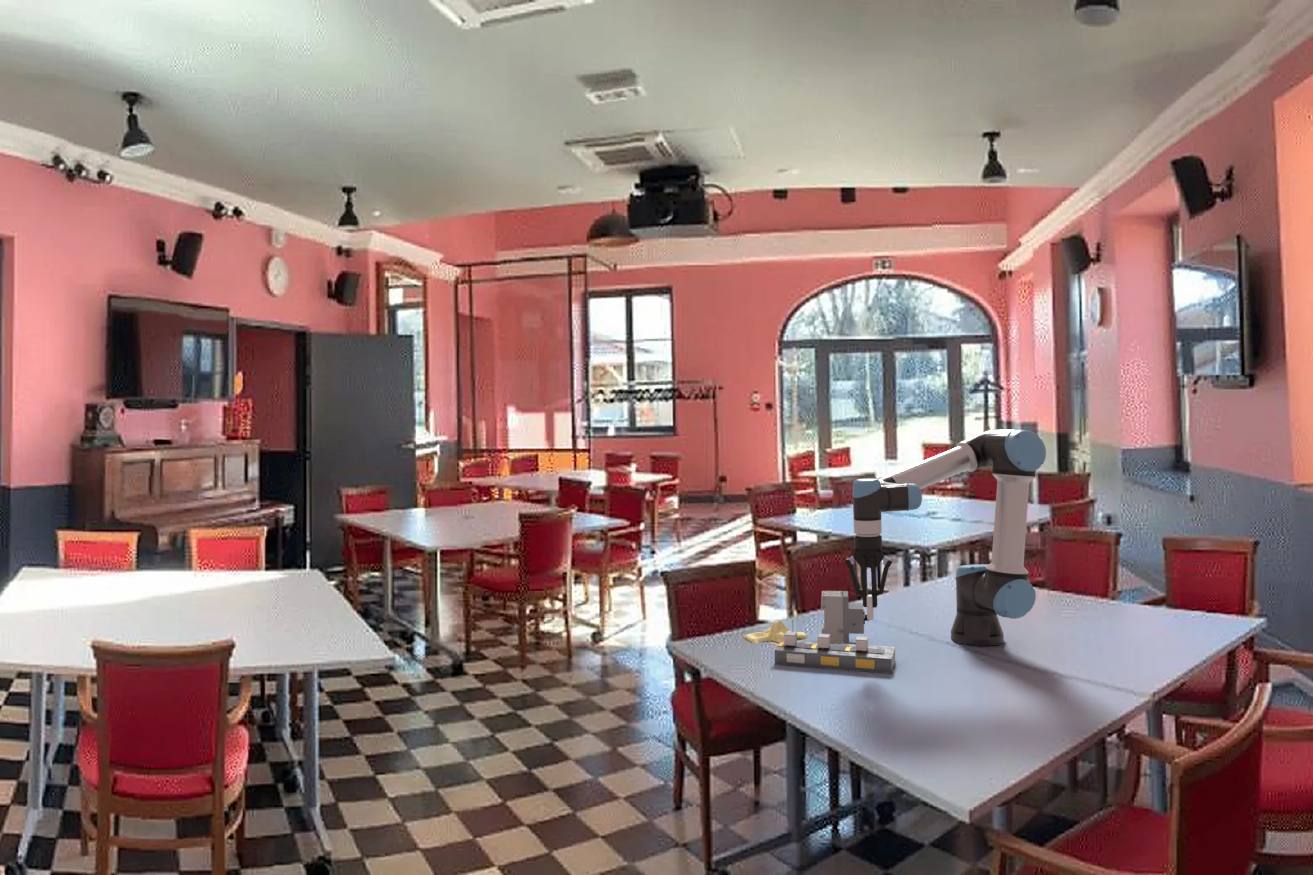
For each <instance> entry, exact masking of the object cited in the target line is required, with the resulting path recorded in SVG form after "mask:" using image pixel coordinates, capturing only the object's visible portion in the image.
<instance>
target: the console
mask: <svg viewBox="0 0 1313 875" xmlns="http://www.w3.org/2000/svg"><path fill="white" fill-rule="evenodd" d="M778 644H779V645H776V646H777V647H775V649H774V664H775V665H781V666H791V667H805V668H807V667H808V668H816V669H817V668H818V669H819V668H820V669H828V670H840V671H841V670H844V671H856V672H869V673H879V674H880V673H881V674H891V675H892V674H893V670H894V668H895V667H894V666H895V664H896V646H885V645H872V644H868V649H867V651H860V650H856V643H849V644H845V643H831V642H830V646H829V648H819V647H818V640H817V641H815V640H804V639H801V640H799V639H797V643H796V645H795V646H792V645H784V639H783V640H782V641H781V642H780V643H778Z"/></svg>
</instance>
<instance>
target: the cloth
mask: <svg viewBox="0 0 1313 875" xmlns="http://www.w3.org/2000/svg"><path fill="white" fill-rule="evenodd" d="M763 631H764V632H763ZM763 631H762V632H761V631H759V632H751V633H748V634H745V635H743V636H742V638H744V639H746V640H747V641H749V642H750V643H752V644H759V643H763V642H769V643H768V645H774V646H778V645H779V643H780V642H781V641H782V640H783V639H784V634H785V633H786V632H787V631H788V632H792V631H790V630H789V629H788V626H786V625H785V624H784V623H783V622H782V621H781V620H775V621H774V622H772V625H771V626H770V627H768V628H766V629H765V630H763ZM766 632H767V633H766ZM796 632H797V640H799V639H801V640H805V639H807V636H808V635H807V634H806V633H805V632H802V631H796ZM772 641H773V642H772Z"/></svg>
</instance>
